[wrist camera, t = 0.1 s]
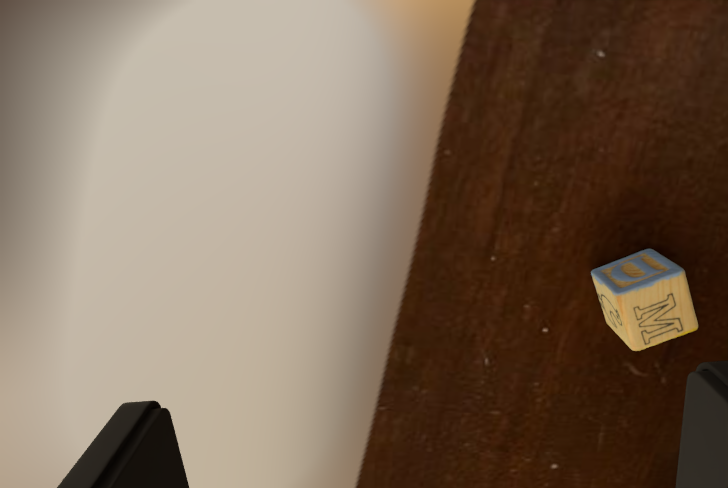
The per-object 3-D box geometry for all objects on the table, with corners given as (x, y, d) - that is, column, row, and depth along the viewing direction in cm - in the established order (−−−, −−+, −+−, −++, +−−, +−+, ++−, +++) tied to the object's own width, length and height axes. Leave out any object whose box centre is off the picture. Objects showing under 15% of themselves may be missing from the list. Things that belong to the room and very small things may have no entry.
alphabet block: (651, 245, 25) (686, 269, 22) (666, 301, 26) (703, 330, 23) (588, 269, 25) (614, 294, 22) (605, 322, 26) (632, 354, 23)
